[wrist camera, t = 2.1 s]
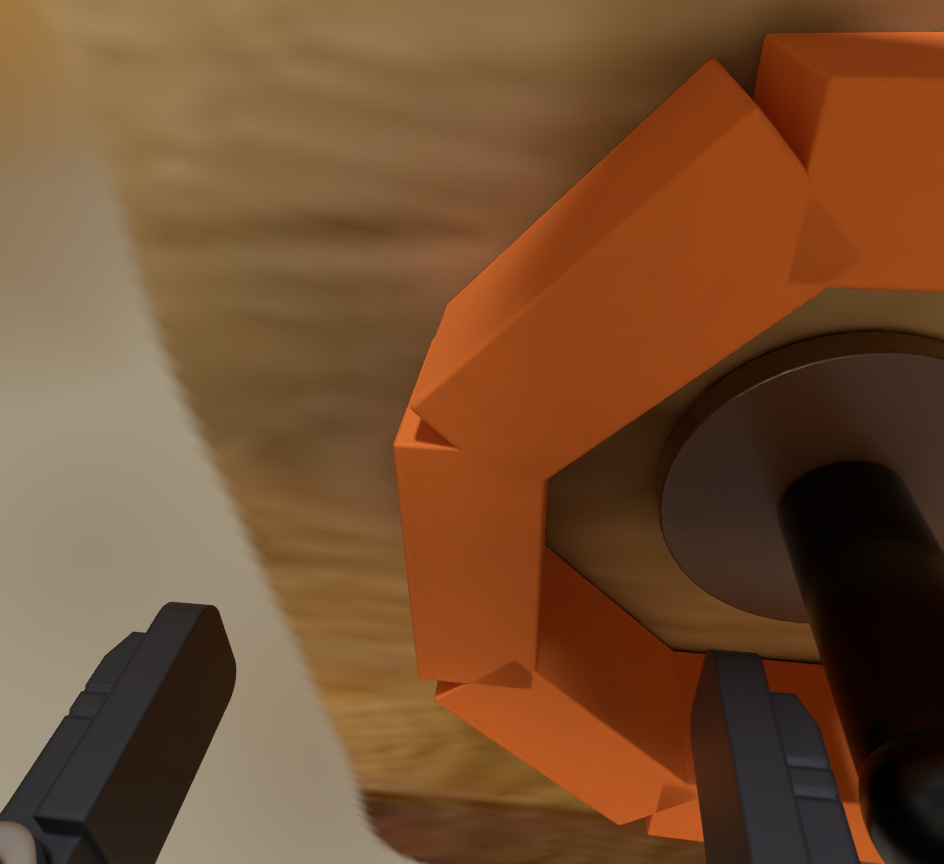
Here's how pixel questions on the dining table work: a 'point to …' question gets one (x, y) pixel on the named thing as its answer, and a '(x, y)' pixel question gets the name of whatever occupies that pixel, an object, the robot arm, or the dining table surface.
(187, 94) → the dining table surface
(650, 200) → the ring
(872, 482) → the peg stand
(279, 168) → the dining table surface
